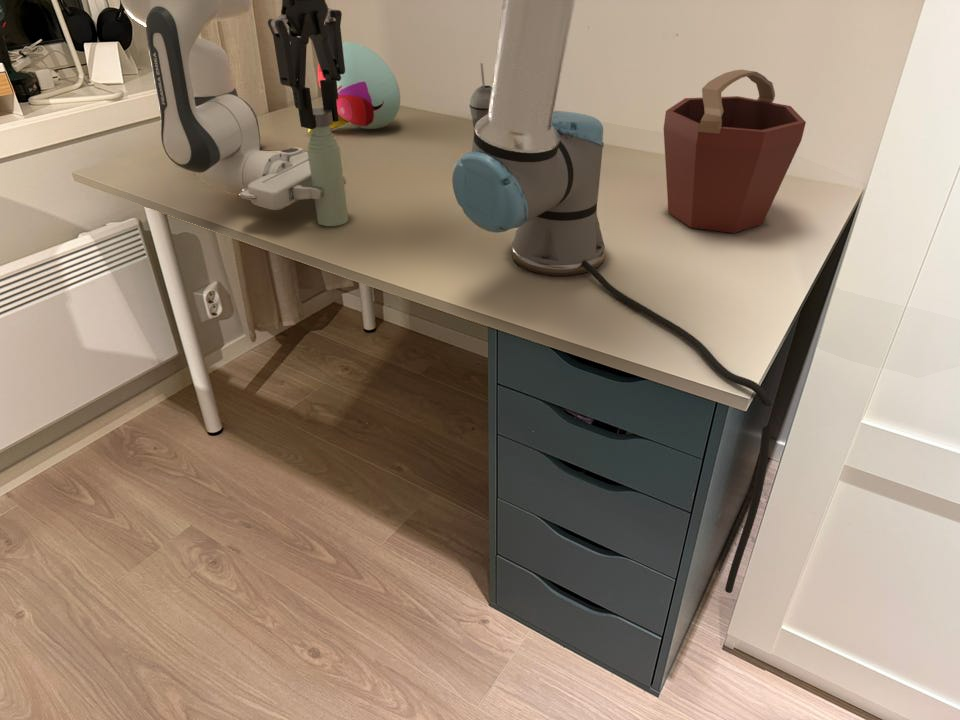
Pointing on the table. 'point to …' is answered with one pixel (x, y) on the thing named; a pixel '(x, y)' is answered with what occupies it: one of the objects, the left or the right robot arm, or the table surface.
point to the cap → (322, 117)
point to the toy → (365, 89)
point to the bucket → (728, 154)
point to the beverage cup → (480, 101)
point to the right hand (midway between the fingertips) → (320, 123)
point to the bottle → (327, 177)
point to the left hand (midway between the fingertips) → (332, 187)
